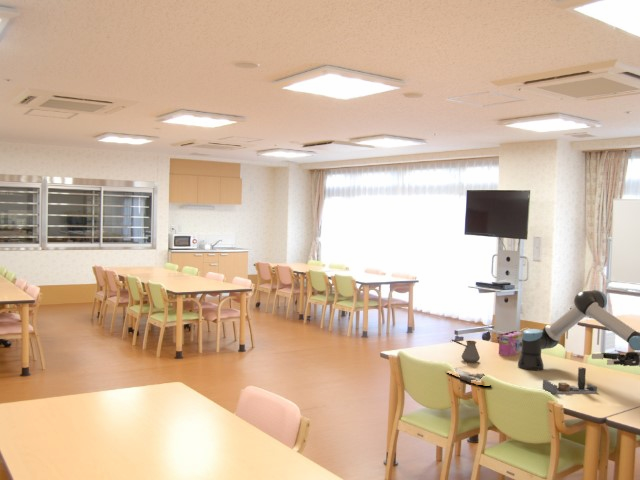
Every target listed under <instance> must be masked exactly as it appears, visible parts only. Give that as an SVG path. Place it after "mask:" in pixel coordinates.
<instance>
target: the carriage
mask: <svg viewBox="0 0 640 480" xmlns="http://www.w3.org/2000/svg"><path fill="white" fill-rule="evenodd" d="M577 370H578V371H577V386H576V385H570V387H569V390H571V391H589V390H588V389H586V388H585V387H586V370H587V369H586V367H582V366H581V367H579V366H578V368H577Z"/></svg>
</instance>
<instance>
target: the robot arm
mask: <svg viewBox="0 0 640 480" xmlns="http://www.w3.org/2000/svg"><path fill="white" fill-rule="evenodd" d="M573 303H574V306H573V307H572V308H570V309H569V310H568V311H567V312H565V313H564V314H563V315H561V317H559V318H558V319H557V320H555V322H553V323H552V324H547V325H546V326H545V327H543V328H542V329H538V328H526V329H524V330H523V331H522V332H521V333H522V351H521V353H520V356H519V359H518V361H517V367H518V368H520V369H523V370H528V371H529V370H530V371H542V370H544V361H543V358H542V350H546V349H553V348H555V347H557V345H558V344H559V342H560V340H562V339H561V338H562V337H561V336H563V335H564V334H566V333H567V332H568V331H569V330H570V329H572V328H573V327H575V325H577V324H578V323H579V322H581V320H583V319H584V318H585V317H591V318H592V319H593V320H595V321H596V322H598V324H599V323H600V324H601V325H602V326H604V327H605V328H606V329H607V330H609V331H610V332H612V333H613V334H614V335H616V336H618V337H619V338H621V339H622V340H624V341H626V343H627V344H628V345H629V347H630V349H632V350H633V351H627V352H626V353H625V354H621V353H613V352H611V353H609V352H600V353H591V359H592V360H596V359H598V360H599V359H600V360H603V359H606V365H608V366H619V365H620V366H623V367H626V366H629V367H636V366H637V367H639V368H640V333H639V331H636V330H635V329H634V328H633V327H631V326H629V325H628V324H627V323H625V322H623V321H622V320H620V319H618V317H616V316H615V315H613V314H612V313H610V312H609V311H607V310H605V308H606V306H607V304H608V297H607V296H606V294H605V293H604V292H603V291H601V290H597V289H594V290H585V291H583V290H582V291H580V292H578V293H577V294H576V295H575V296H574V300H573Z"/></svg>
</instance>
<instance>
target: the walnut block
mask: <svg viewBox="0 0 640 480" xmlns="http://www.w3.org/2000/svg"><path fill="white" fill-rule="evenodd" d="M570 386H571V385H570V384H569V383H567V382H558V385H557V388H558V390H559V391H569V387H570Z"/></svg>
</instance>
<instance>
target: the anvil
mask: <svg viewBox="0 0 640 480" xmlns="http://www.w3.org/2000/svg"><path fill="white" fill-rule="evenodd" d="M557 388H558V385H556V384H554V383H553V382H551V381H549V380H547V379H542V389H543V390H545V391H546V390H547V391H546V392H548V391H549V392H548V393H550V392H551V393H550V394H552V395H553V394H557Z"/></svg>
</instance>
